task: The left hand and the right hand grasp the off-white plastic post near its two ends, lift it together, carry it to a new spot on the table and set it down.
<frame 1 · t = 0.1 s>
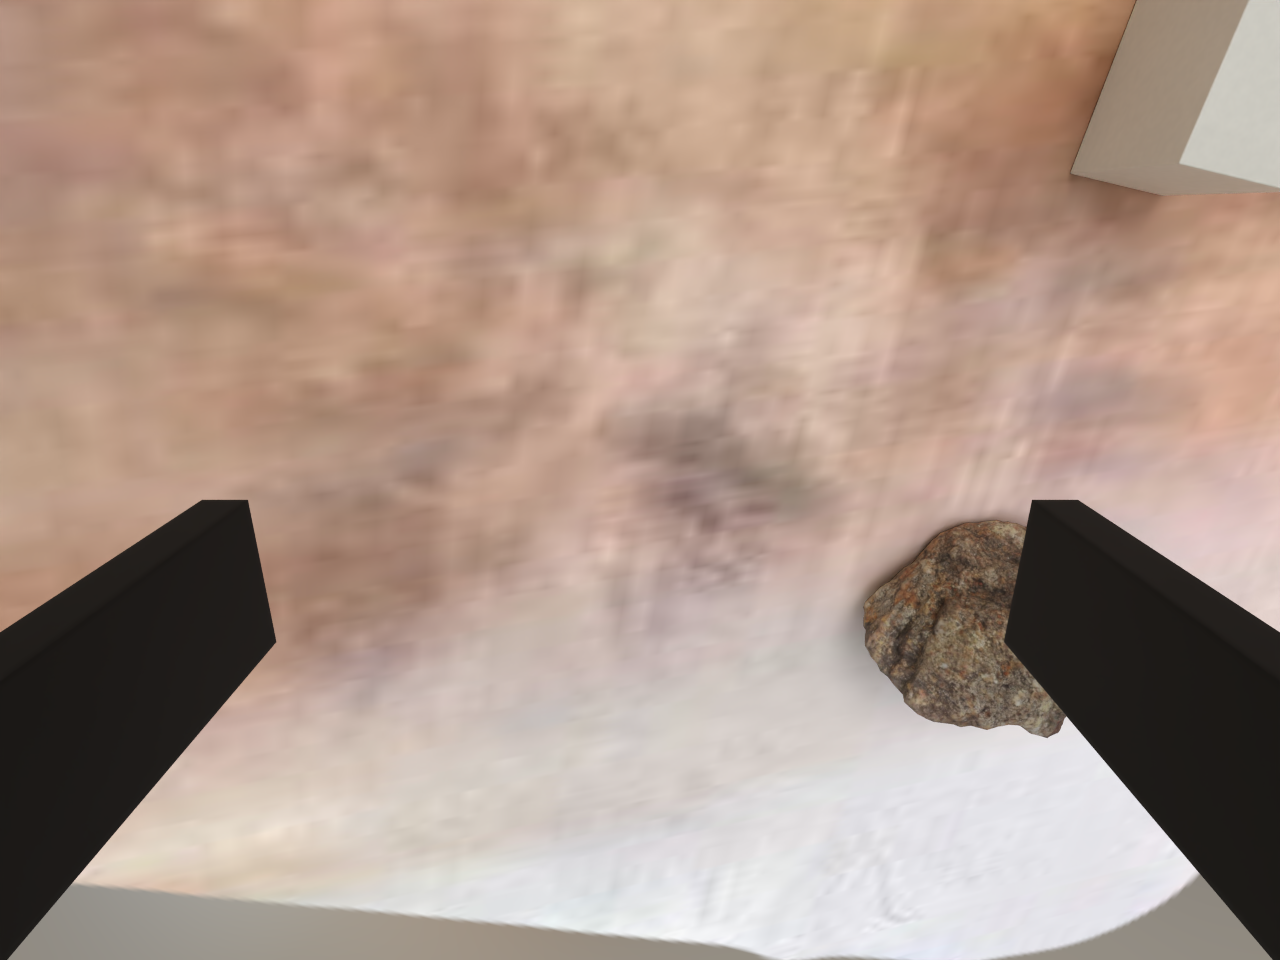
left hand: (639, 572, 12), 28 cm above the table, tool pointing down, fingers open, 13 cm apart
rock: (979, 591, 44), on the table
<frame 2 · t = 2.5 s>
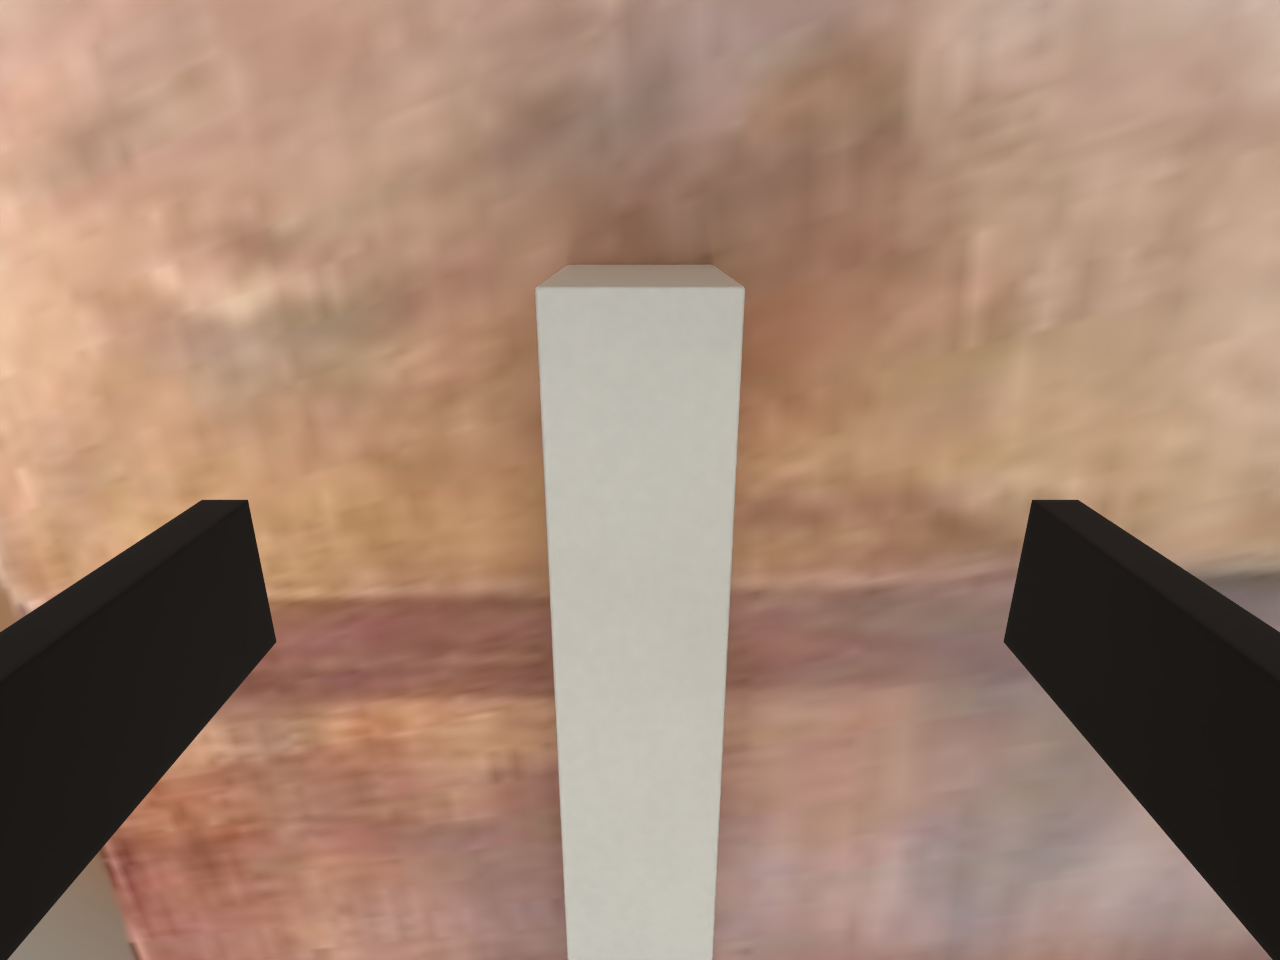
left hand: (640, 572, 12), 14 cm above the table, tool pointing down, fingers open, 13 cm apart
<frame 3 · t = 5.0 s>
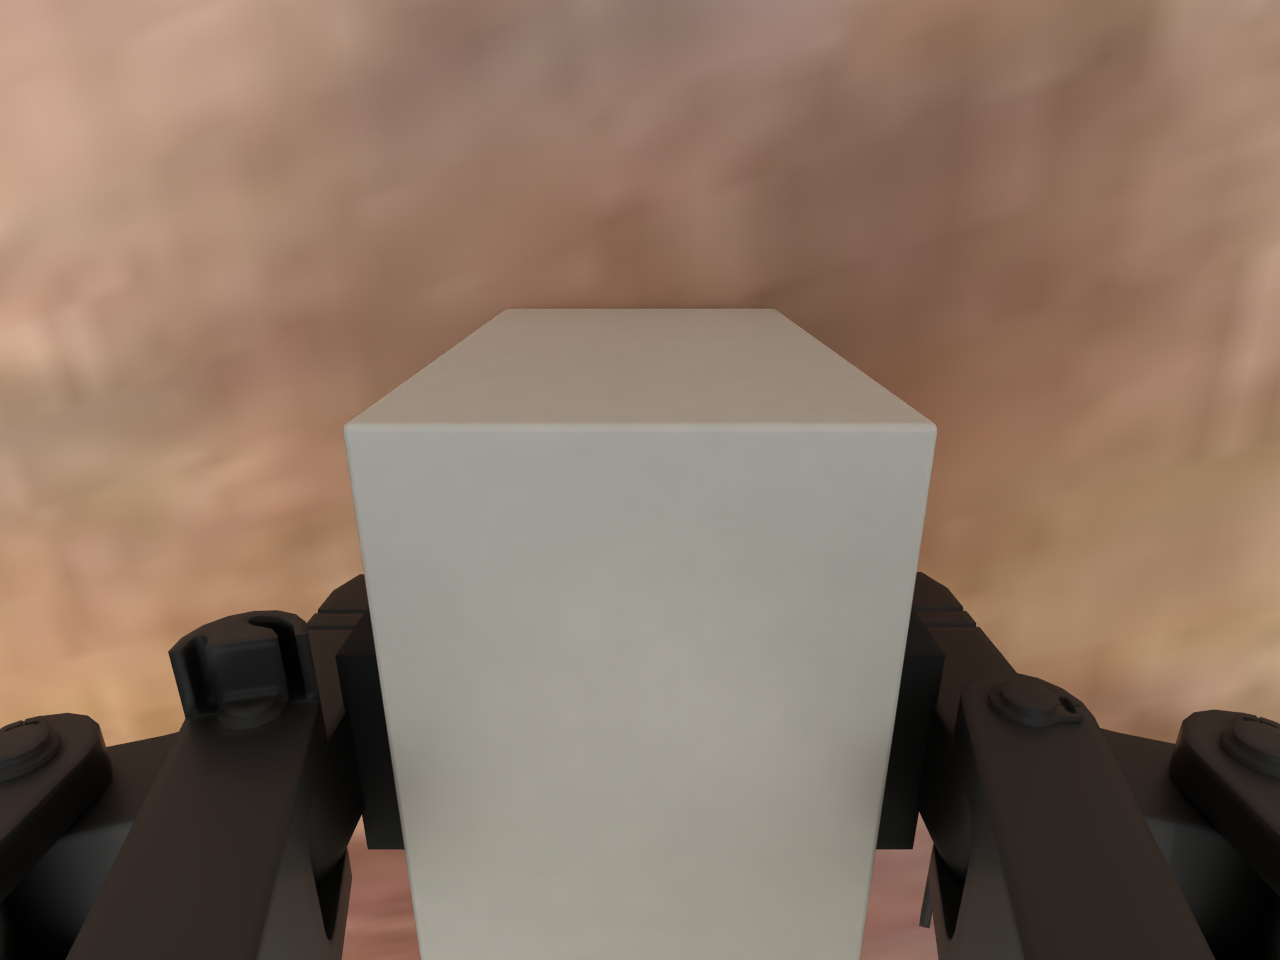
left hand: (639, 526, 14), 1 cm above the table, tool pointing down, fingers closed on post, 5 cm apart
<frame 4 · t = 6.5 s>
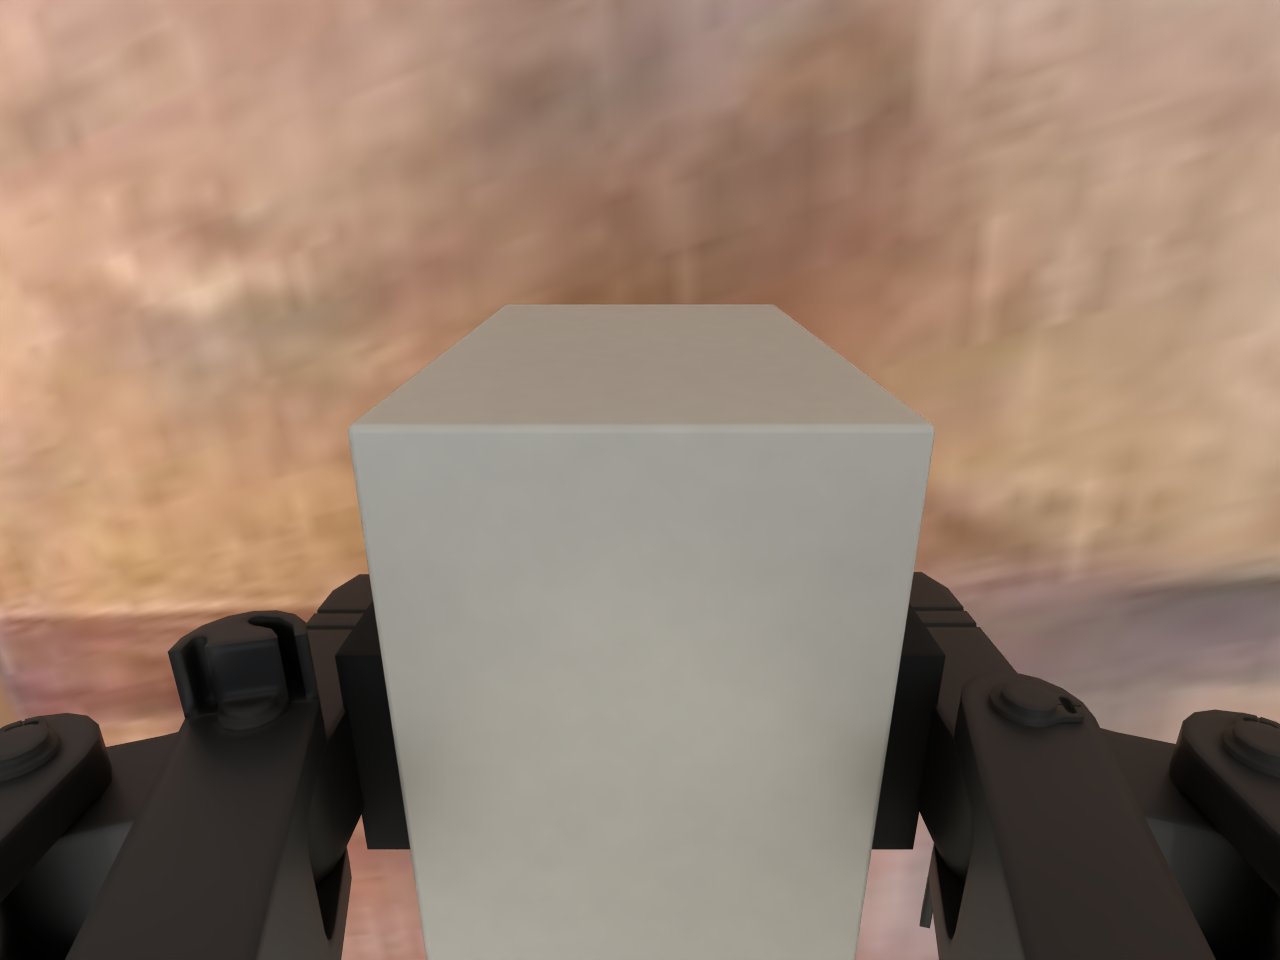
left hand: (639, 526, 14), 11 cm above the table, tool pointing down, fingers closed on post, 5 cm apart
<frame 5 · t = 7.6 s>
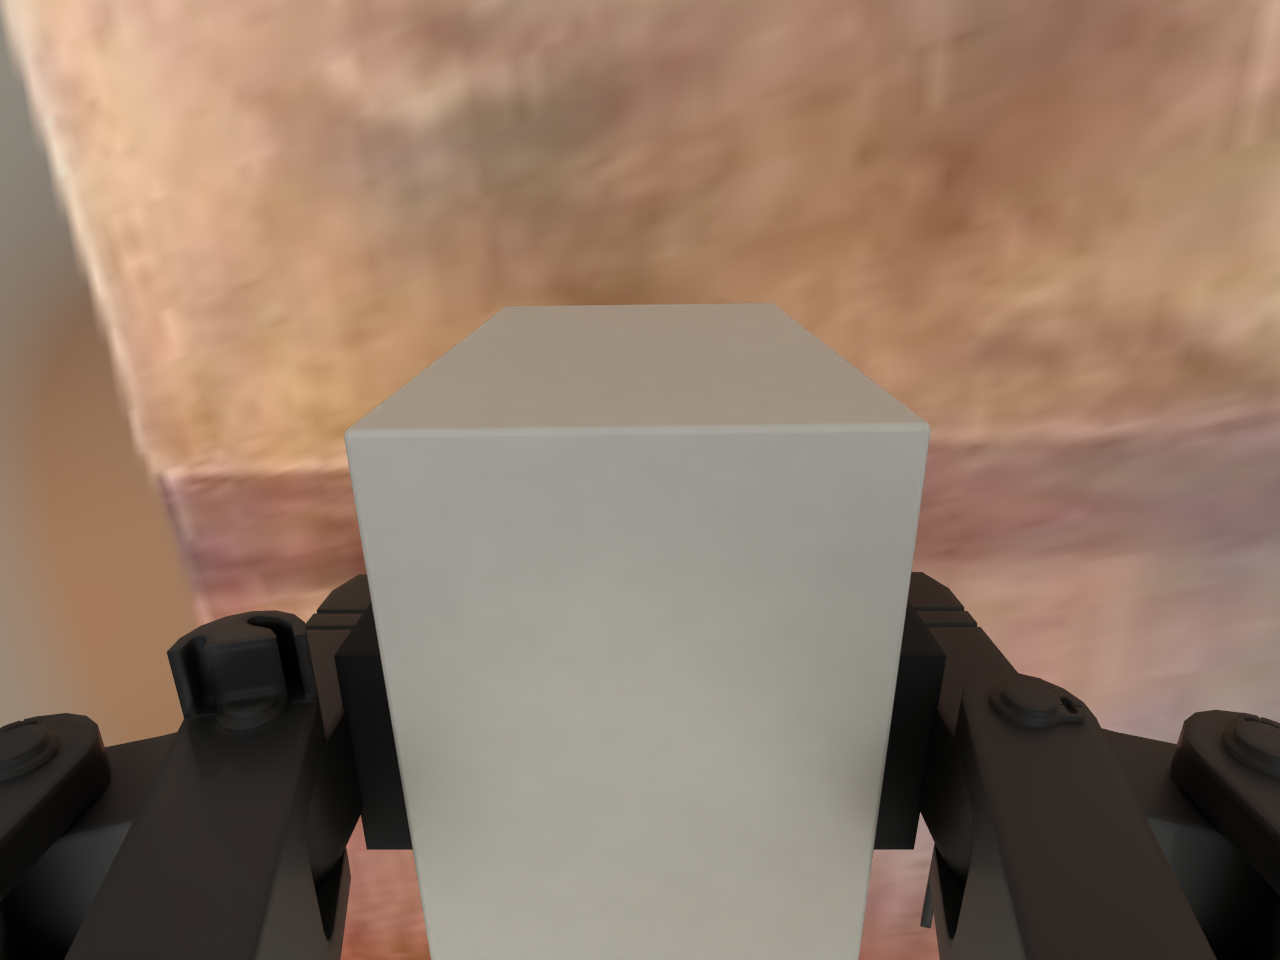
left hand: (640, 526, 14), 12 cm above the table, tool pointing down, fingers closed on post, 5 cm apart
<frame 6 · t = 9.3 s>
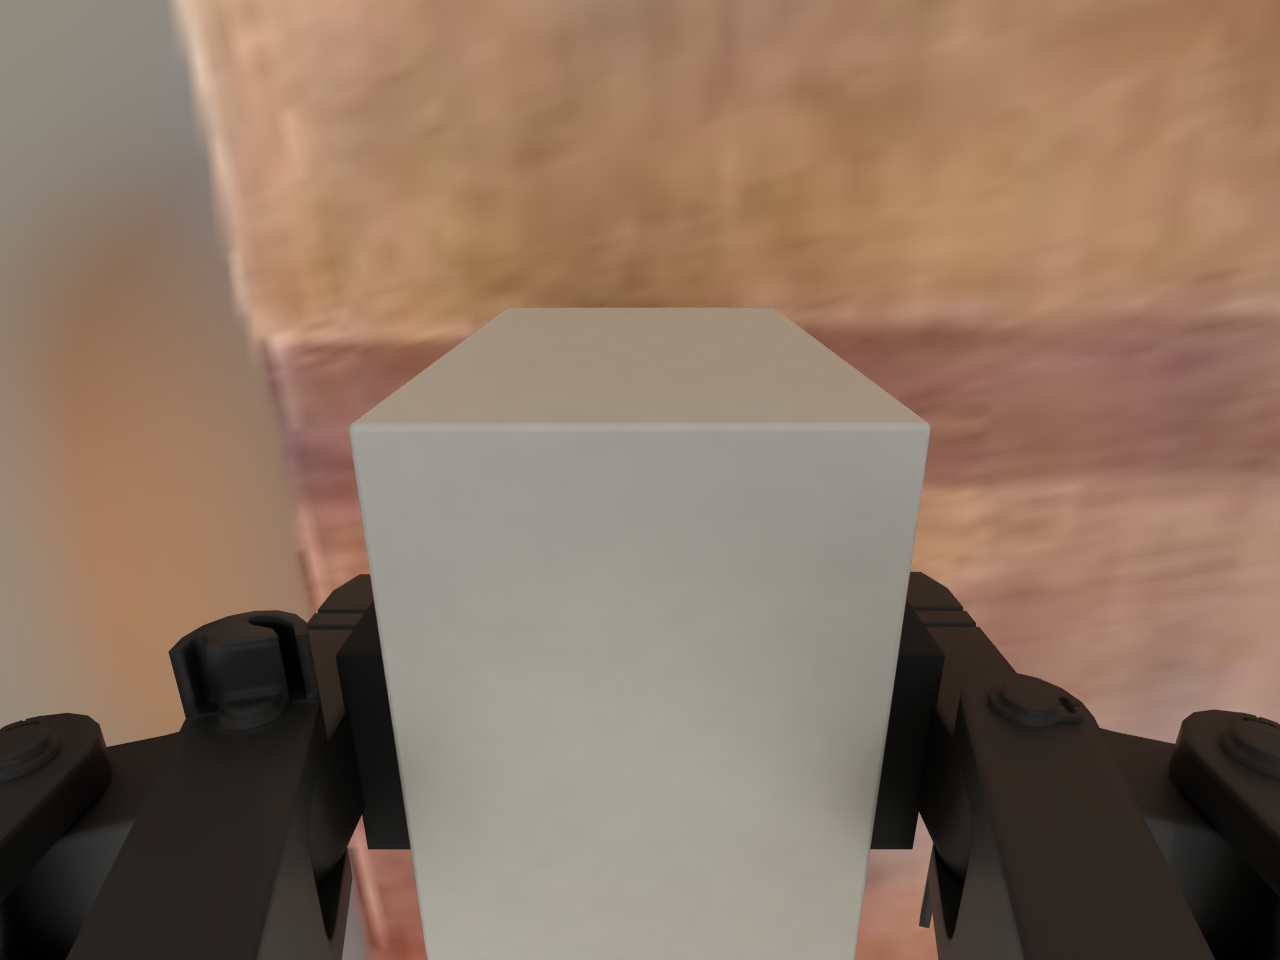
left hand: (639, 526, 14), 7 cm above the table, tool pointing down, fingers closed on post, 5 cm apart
when the left hand's fingers open (2 cm above the table, at t = 10.5 s): post drops 1 cm, on the table.
when the right hand's fingers open (5 cm above the table, at t = 10.6 s): post stays where it is, on the table.
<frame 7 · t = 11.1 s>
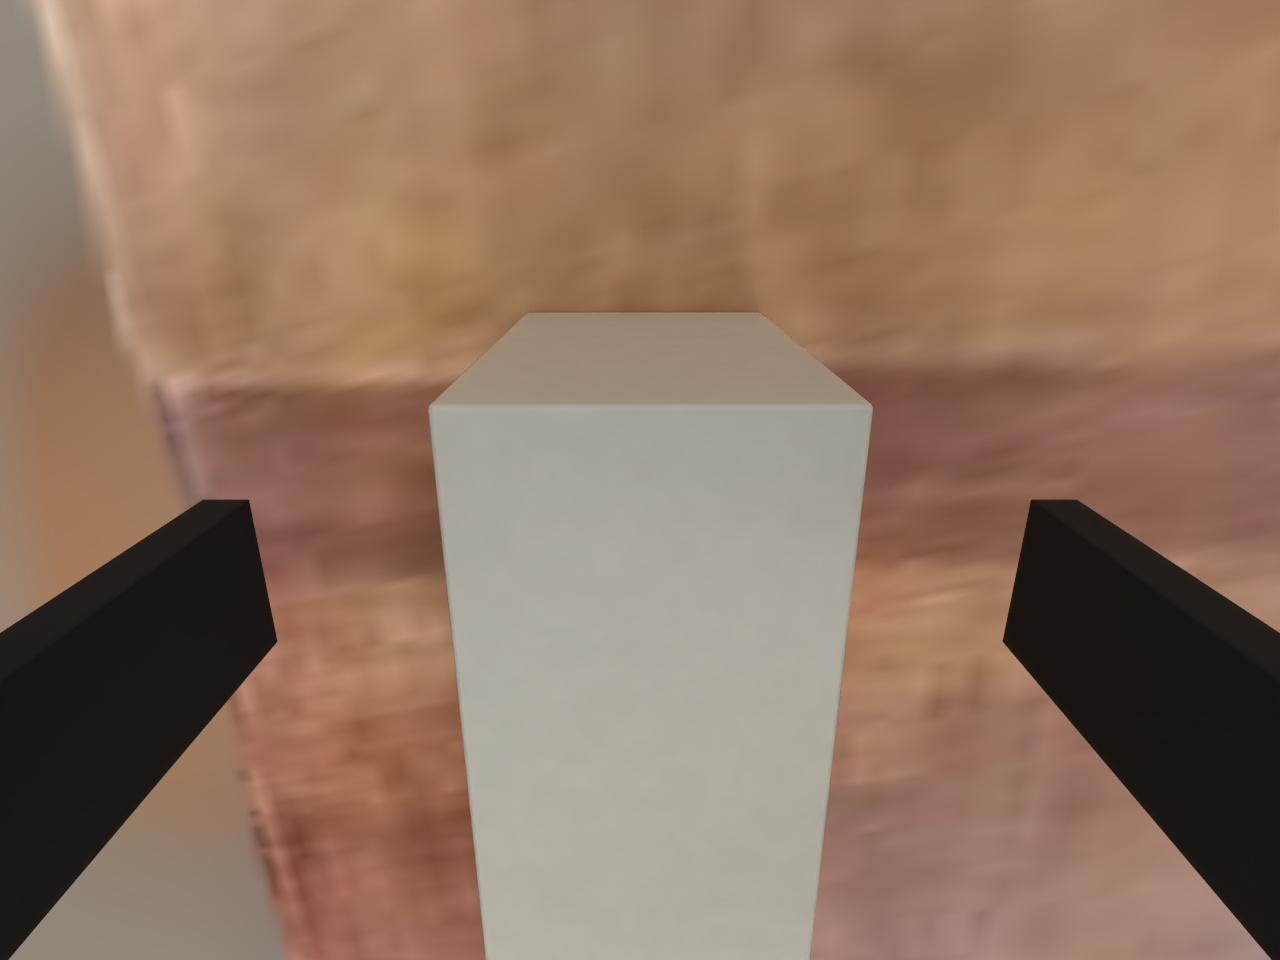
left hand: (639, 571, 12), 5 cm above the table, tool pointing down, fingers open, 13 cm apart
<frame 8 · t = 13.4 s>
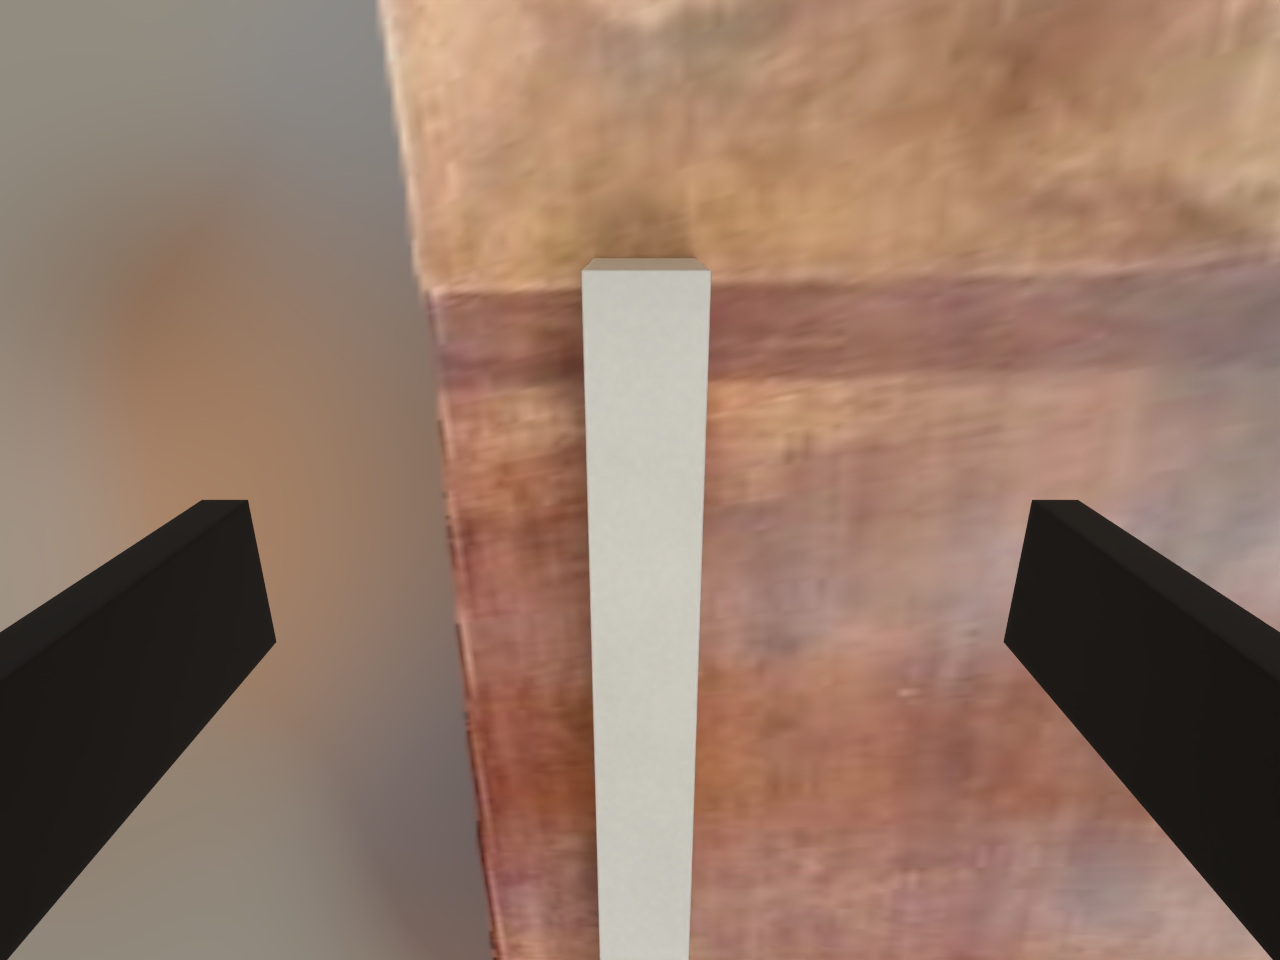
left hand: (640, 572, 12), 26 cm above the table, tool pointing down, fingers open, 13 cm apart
post: (643, 857, 48), on the table
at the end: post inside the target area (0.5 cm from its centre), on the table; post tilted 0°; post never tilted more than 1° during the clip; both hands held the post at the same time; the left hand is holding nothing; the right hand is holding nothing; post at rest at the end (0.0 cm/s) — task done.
